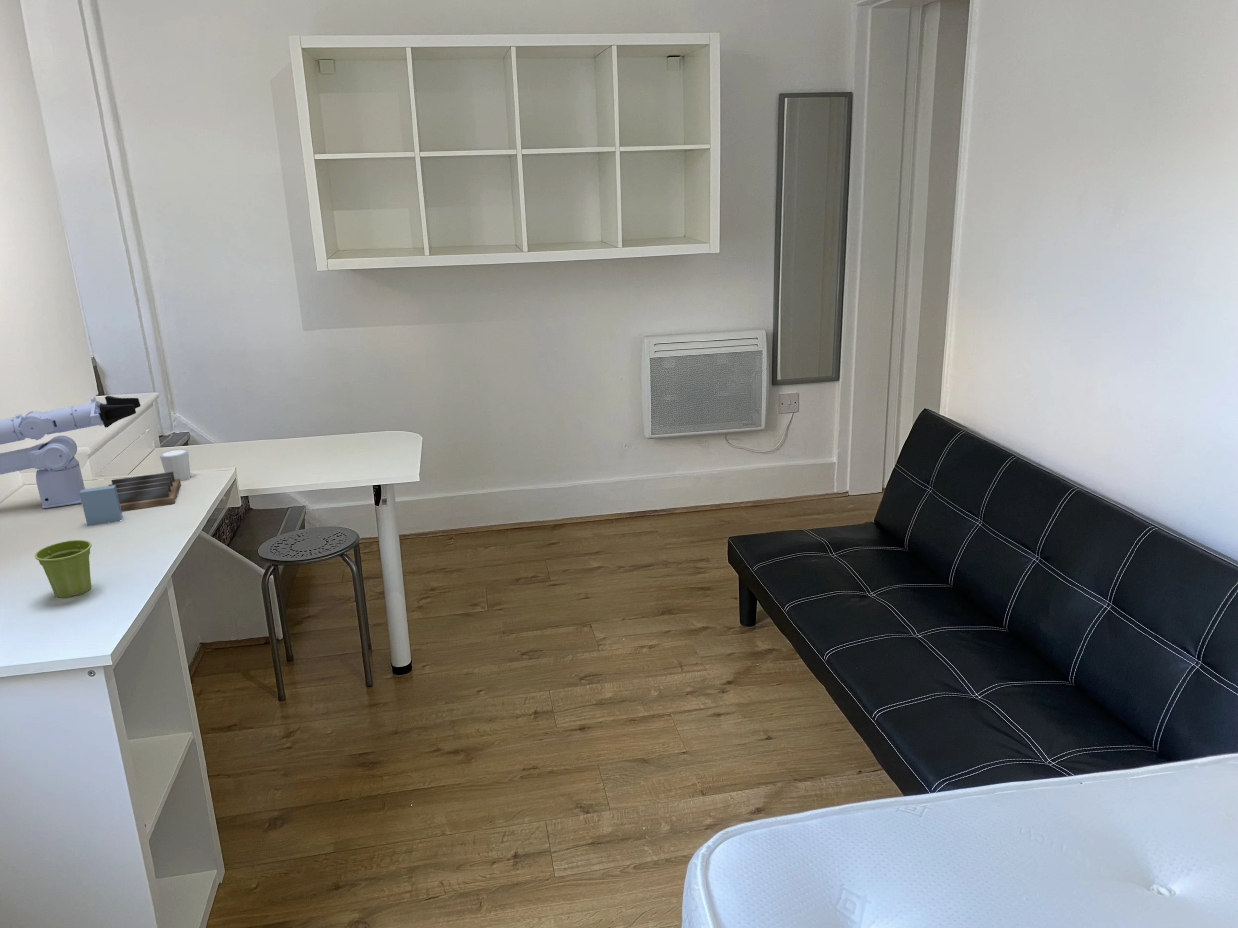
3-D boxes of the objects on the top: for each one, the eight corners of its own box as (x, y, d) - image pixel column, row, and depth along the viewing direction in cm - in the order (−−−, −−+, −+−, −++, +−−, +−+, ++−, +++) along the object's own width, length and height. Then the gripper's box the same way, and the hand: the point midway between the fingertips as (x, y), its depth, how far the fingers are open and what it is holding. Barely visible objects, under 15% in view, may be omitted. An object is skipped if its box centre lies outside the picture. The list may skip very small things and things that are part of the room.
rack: (100, 514, 220) (96, 498, 219) (111, 493, 234) (108, 478, 233) (174, 503, 225) (171, 488, 223) (180, 484, 239) (177, 469, 238)
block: (87, 525, 213) (79, 492, 210) (89, 522, 215) (81, 489, 213) (121, 520, 215) (113, 488, 213) (123, 517, 217) (115, 484, 215)
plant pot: (111, 580, 182) (102, 539, 179) (80, 602, 173) (70, 559, 171) (67, 580, 183) (56, 539, 180) (33, 602, 174) (22, 559, 172)
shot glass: (198, 476, 245) (193, 450, 243) (175, 483, 240) (169, 457, 238) (183, 472, 249) (177, 447, 247) (159, 480, 243) (153, 454, 241)
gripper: (64, 408, 218) (127, 396, 222) (77, 395, 231) (136, 384, 235) (74, 436, 221) (136, 424, 224) (86, 422, 234) (144, 410, 237)
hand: (137, 405), depth 230 cm, fingers open, 7 cm apart
